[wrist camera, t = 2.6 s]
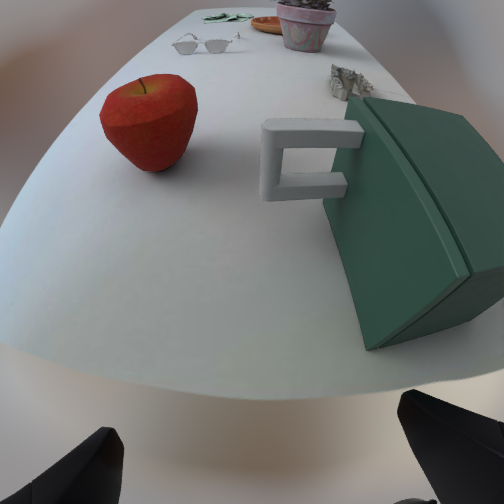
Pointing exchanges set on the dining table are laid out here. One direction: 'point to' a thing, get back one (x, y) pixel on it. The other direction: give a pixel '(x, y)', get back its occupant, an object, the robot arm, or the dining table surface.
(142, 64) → the dining table surface
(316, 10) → the potted plant
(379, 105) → the box
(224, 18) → the cloth
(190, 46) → the eyeglasses
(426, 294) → the cooler door
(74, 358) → the dining table surface
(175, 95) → the apple
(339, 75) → the egg carton
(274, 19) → the saucer
